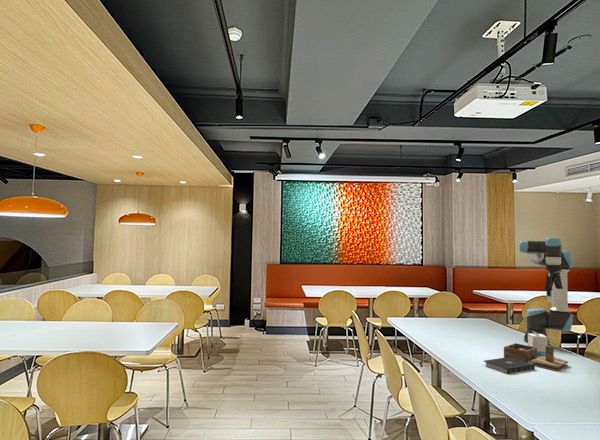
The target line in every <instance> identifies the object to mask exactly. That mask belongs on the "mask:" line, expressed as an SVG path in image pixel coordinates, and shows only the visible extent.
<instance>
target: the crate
mask: <svg viewBox="0 0 600 440" xmlns="http://www.w3.org/2000/svg"><path fill="white" fill-rule="evenodd" d="M505 357H511V358H515V359H518V360H521V361H525V362H528V363H529V362H531V360H534V359H536V358H538V356H537V348H536V347H531V346H528V344H521V343H516V342H515V343H512V344H511V343H510V344H509V345H506V346H503V358H505Z"/></svg>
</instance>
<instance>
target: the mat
mask: <svg viewBox="0 0 600 440" xmlns="http://www.w3.org/2000/svg"><path fill="white" fill-rule="evenodd" d="M531 364H534V366H535V367H540V368H544V369H548V370H552V371H555V372H560V371H561V370H564V369H565V368H567V367H569V364H568V363H567V364H565V365H563V366H561V367H559V368H551V367H547V366H542V365H538V364H537V363H534V362H531Z"/></svg>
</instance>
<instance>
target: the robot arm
mask: <svg viewBox="0 0 600 440" xmlns="http://www.w3.org/2000/svg"><path fill="white" fill-rule="evenodd" d="M519 252H520V253H524V254H527V257H528V259H529V261H530V262H531V263H533V264H536V265H538V266H541V267H545V271H547V273H546V279H545V284H544V291H546V302H547V303H551V304H552V307H550V308H549V311H548V310H547V309H546V308H537V307H536V308H528V309H527V311H526V315H525V316H526V330H525V333H524V336H523V341H524V343H527V344H528V333H531V334H535V333H534V332H536V333H537V334H543V335H545V336H546V337H547V340H548V346H550V339H549V336H548V333H547V329H548V330H554V331H561V332H570V331H571V330H572V327H573V319H574V314H573V313H572V312H571V310H570V309H569V305H568V304H569V303H568V302H569V301H568V300H569V299H568V297H569V296H568V290H569V289H568V272H570V271H571V269H572V268H573V261H572V255H571V251H569V250H567V249H563V246H562V241H561V238H559V237H546V239H545V241H544V240H543V241H542V240H521V241H519ZM533 331H534V332H533Z"/></svg>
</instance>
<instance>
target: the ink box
mask: <svg viewBox="0 0 600 440" xmlns="http://www.w3.org/2000/svg"><path fill="white" fill-rule="evenodd" d="M533 332H534V331H533ZM534 333H535V334H531V333H528V343H527V346H531V347H536V348H537V357H538V356H539V357H541V356H546V346H547V345H548V340H547V337H546V336H545V335H543V334H537V333H536V332H534ZM548 346H549V345H548Z"/></svg>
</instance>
